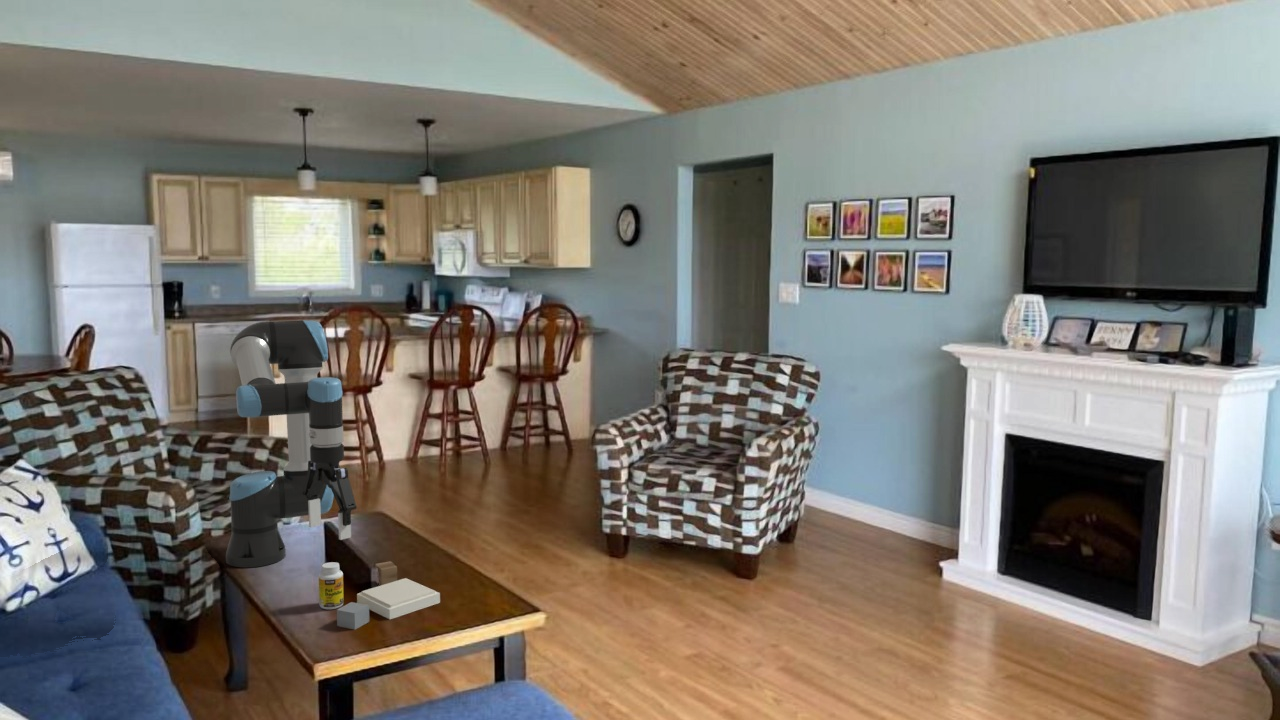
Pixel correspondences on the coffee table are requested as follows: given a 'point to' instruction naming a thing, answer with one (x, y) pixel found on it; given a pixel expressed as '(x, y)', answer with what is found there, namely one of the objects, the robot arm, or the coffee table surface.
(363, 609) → the grey matte cube
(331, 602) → the supplement bottle
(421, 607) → the podium
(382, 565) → the walnut block
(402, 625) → the coffee table surface
